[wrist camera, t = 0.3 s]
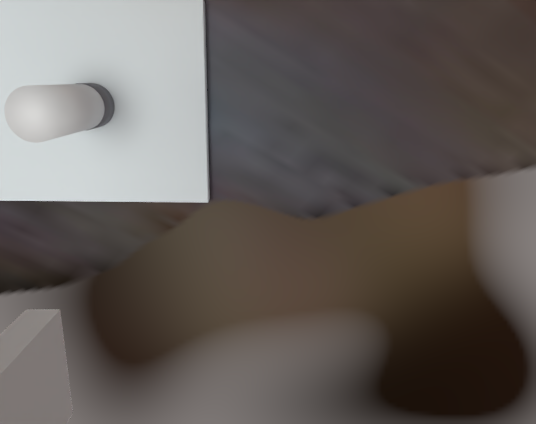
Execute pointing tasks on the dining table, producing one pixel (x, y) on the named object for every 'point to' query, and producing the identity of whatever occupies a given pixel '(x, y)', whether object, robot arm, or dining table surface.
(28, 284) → the dining table surface
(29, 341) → the robot arm
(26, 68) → the post stand
